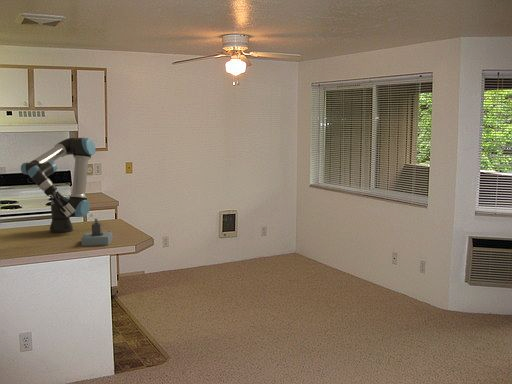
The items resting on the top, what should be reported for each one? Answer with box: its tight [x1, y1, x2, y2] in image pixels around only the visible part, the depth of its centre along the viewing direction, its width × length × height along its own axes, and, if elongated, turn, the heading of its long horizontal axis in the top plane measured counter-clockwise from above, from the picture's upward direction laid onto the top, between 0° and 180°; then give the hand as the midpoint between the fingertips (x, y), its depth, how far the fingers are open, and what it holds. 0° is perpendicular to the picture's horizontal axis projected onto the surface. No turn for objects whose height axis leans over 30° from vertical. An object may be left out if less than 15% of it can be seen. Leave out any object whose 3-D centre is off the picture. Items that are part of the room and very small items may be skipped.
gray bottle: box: [91, 218, 103, 236], centre depth 361 cm, size 5×5×15 cm
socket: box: [80, 231, 114, 247], centre depth 362 cm, size 16×16×5 cm
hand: (71, 214), depth 360 cm, fingers open, 13 cm apart
